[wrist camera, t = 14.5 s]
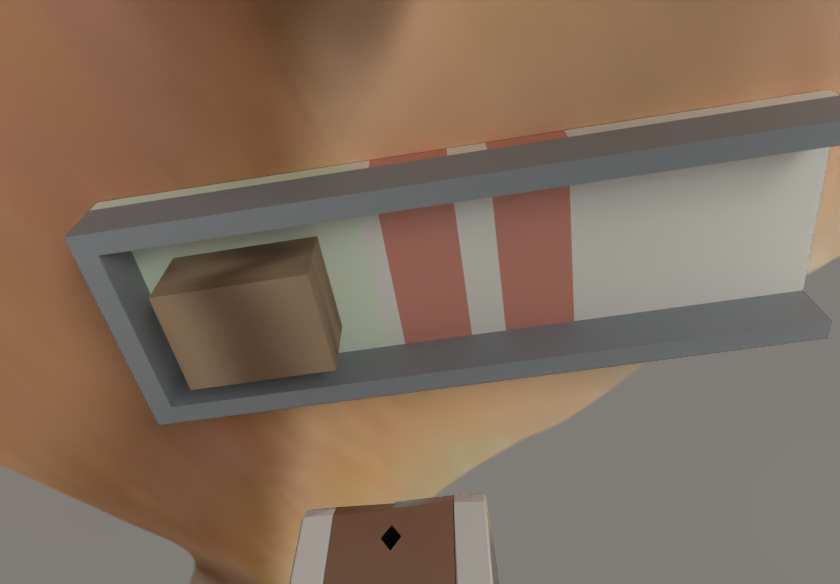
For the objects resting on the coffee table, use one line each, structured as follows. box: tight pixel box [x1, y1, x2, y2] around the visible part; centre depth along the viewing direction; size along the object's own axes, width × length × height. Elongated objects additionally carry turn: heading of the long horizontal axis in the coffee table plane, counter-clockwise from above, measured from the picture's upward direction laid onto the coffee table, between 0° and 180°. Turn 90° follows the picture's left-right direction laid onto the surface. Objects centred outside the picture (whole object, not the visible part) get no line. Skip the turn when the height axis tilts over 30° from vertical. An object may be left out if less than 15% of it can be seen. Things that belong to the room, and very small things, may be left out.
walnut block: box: [149, 236, 342, 390], centre depth 35 cm, size 8×6×4 cm
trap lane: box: [64, 90, 840, 425], centre depth 35 cm, size 38×12×4 cm, turn 99°
